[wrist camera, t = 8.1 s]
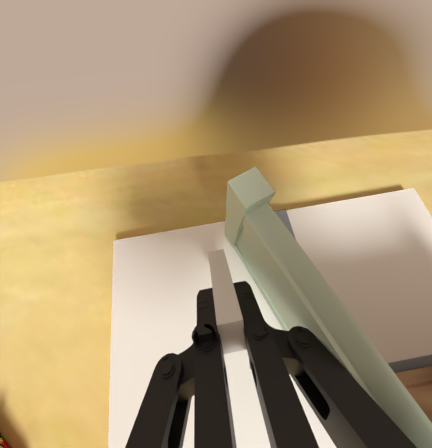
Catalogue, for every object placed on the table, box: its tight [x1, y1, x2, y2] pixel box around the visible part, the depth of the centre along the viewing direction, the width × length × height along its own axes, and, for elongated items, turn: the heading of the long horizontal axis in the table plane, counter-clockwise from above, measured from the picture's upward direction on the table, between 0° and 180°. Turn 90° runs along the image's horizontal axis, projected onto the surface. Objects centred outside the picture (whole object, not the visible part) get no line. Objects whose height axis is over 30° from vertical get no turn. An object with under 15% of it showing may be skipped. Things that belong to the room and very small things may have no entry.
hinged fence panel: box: [225, 167, 432, 448], centre depth 11 cm, size 14×2×10 cm, turn 29°
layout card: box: [108, 188, 432, 448], centre depth 15 cm, size 34×24×1 cm
